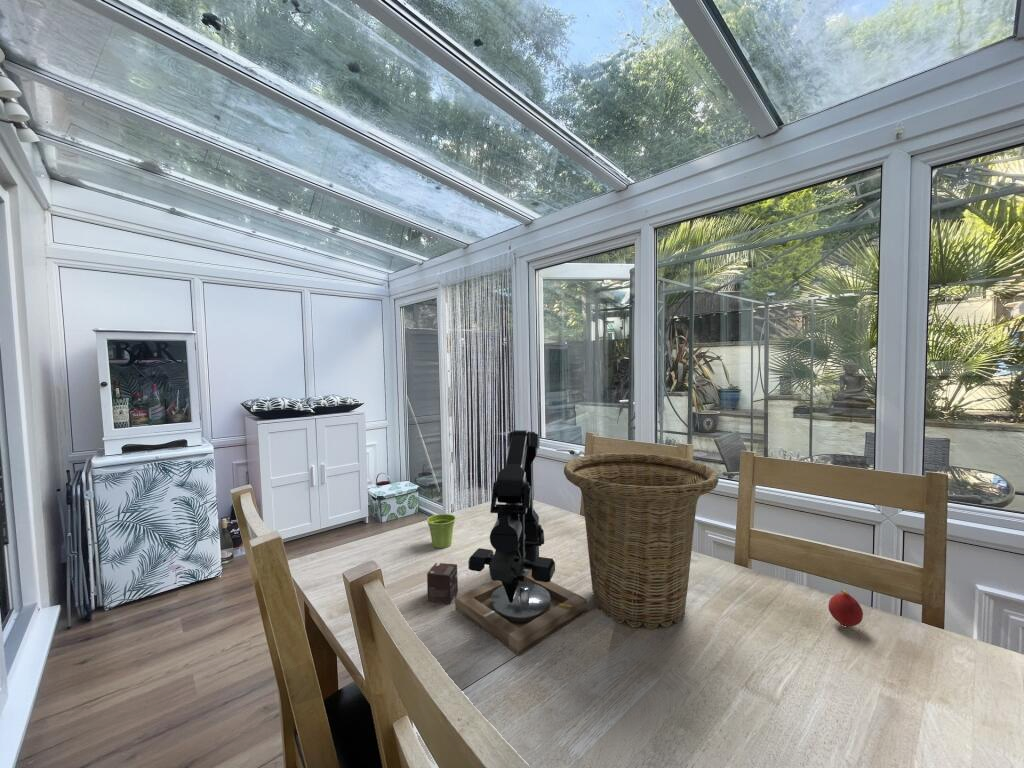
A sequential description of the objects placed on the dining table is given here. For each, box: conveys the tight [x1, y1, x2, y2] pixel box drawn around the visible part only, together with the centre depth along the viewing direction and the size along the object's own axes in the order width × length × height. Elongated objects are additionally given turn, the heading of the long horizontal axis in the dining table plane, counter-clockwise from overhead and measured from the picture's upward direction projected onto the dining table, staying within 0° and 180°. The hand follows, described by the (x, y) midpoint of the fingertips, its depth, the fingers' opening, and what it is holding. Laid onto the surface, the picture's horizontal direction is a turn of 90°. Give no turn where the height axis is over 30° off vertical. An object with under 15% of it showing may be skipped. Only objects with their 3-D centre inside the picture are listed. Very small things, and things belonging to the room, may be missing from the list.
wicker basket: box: [563, 452, 719, 630], centre depth 101 cm, size 35×35×33 cm
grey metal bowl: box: [491, 582, 551, 624], centre depth 98 cm, size 14×14×7 cm
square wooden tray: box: [454, 571, 588, 657], centre depth 98 cm, size 22×22×3 cm
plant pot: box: [426, 513, 457, 549], centre depth 136 cm, size 9×9×9 cm
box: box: [426, 562, 459, 605], centre depth 105 cm, size 6×6×7 cm
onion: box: [827, 589, 864, 628], centre depth 91 cm, size 6×6×8 cm
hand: (511, 601), depth 93 cm, fingers closed
